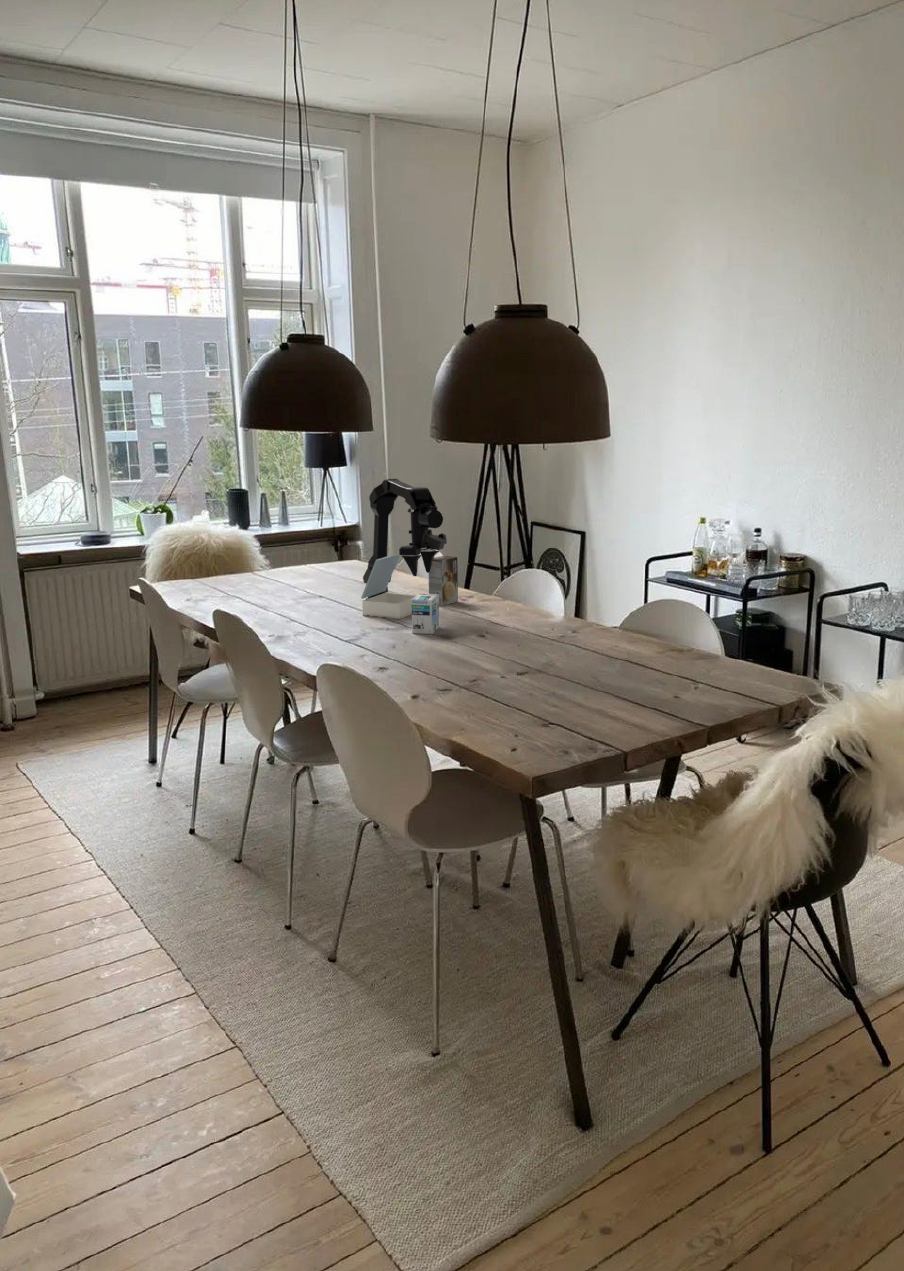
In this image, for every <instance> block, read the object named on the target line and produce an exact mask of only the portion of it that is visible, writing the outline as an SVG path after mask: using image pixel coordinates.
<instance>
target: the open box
mask: <svg viewBox="0 0 904 1271" xmlns="http://www.w3.org/2000/svg"><path fill="white" fill-rule="evenodd" d="M417 595H418V594H410V593H409V594H408V593H400V592H399V593H397V592H389V591H388V592H386V593H383V594H380V595H377V596H375V597H372V598H369V599H366V598H365V599H362V601H361V602H362V616H363V615H369V616H368V617H372V616H378V617H377V618H382V617H386V618H385V619H392V618H395V619H394V620H401V619H403V617H404V618H407V617H408V615H409V616H412V602H411V600H412V599H413V598H414V597H415V596H417Z"/></svg>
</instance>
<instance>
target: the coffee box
mask: <svg viewBox="0 0 904 1271" xmlns="http://www.w3.org/2000/svg"><path fill="white" fill-rule="evenodd" d="M427 574H428V575H427V576H428V594H439V606H442V607H443V606H447V605H450V604H453V603H457V602H458V601H459V587H458V586H459V583H458V582H459V580H458V556H450V555H440V556H436V557H435V556H434V559H433V562H432V566H431V570H430V572H429V573H427Z"/></svg>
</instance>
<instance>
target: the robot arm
mask: <svg viewBox="0 0 904 1271" xmlns="http://www.w3.org/2000/svg"><path fill="white" fill-rule="evenodd" d="M398 497H401V498H403V499H404V503H406V504H407V505H408V506H409V508H408V510H407V513H410V529H409V530H408V534H411V535H410V536H411V542H409V543H408V544H409V545H407V544H406V545H402V546H400V548H398V553H399V555H400V556H401V558H403V559H404V561H405V563H406V565H407V566H408V568H409V571H411V574H412V576H413V577H417V576H418V563H419V559H420V558H421V559H422V562H423V566H424V570H425V571H426V573H427V574H428V573H429V572H430V570H431V566H432V562H433V559H434V558H435V556H436V555H437V554H439V553H440V550H444V547H445V545H446V544H447V543H448V541H447V540H448V539H447V536H446V535H447V534H446V533H439V534H433V530H432V529H438V528H440V527H441V526H442V524H443V522H444V516H443V514H442V513H441V512H440V511H439V510H438V506H437V505H436V501H435V499H434V497H433V496H432V493H431V491H430V489H429V488H428V487H423V486H421V487H420V486H416V487H415V486H412V485H410V484H408V483H406V482H403V481H402V480H400V479H398V478H385V479H384V480H383V481H382V482H381V483H380V484H378V485H377V486H376V487H373V490H372V491H371V492H370V494H369V504H370V506H369V507H370V509H371V510H372V512H373V514H374V520H373V521H374V522H373V523H374V526H373V550H372V551H373V552H372V556H371V557H370V559H369V560H368V562H367V563H368V564H367V569H366V570H365V572H364V573H363V576H362V579H363V583H364V584H365V585H366V584H367V581H368V579H369V576H370V574H371V571H372V569H373V566H374V564H375V561H376V560H377V559H380V558H384V557H387V556H388V543H389V542H388V539H389V520H390V518H389V517H390V515H391V513H392V511H393V510H394V509H395V502H396V500H397V499H398ZM391 580H392V577H391V578H390V581H389V583H391ZM386 592H388V593H389V586H387V588H386V590H385V591H384V592H381V593H378V594H375V595H372V596H369V597H366V598H365V600H366V599H369V598H372V597H375V596H377V595H380V594H383V593H386Z"/></svg>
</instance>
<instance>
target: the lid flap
mask: <svg viewBox="0 0 904 1271" xmlns="http://www.w3.org/2000/svg"><path fill="white" fill-rule="evenodd" d="M400 556H401V555H399V552H397V553H395V554H391V555H387V557H384V558H380V559H377V560H376V561H375V564H374V566H373V569H372V571H371V574H370V576H369V579H368V581H367V584H366V583H365V587H364V589H363V592H362V595H361V597H360V598H361V599H362V600H364V599H366V598H368V597H369V596H372V595H375V594H378V593H381V592H384V591H385V590H386V588H387V587H389V586H388V585H389V583H390V582H391V581H390V578H391V579H392V575H393V573H394V570H395V568H396V566H397V563H398V560H399V559H400ZM389 581H390V582H389Z"/></svg>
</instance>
